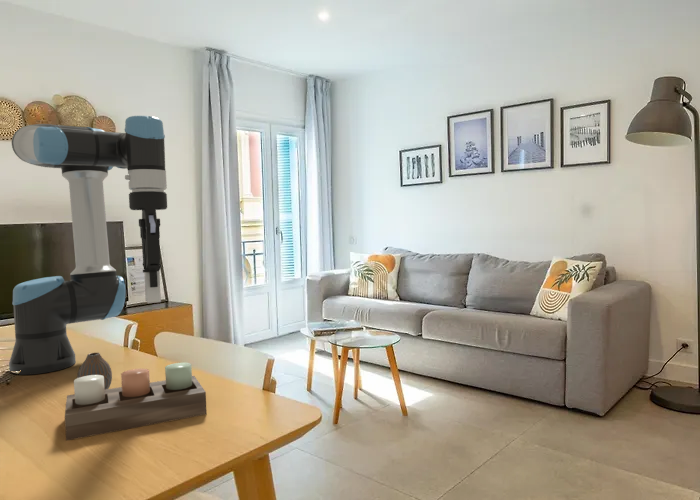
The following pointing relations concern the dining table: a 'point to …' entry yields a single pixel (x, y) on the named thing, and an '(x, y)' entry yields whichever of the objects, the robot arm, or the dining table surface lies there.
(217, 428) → the dining table surface
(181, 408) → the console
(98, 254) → the robot arm
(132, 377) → the button terracotta
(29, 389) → the dining table surface
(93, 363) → the vase
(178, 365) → the button sage
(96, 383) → the button cream
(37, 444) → the dining table surface
